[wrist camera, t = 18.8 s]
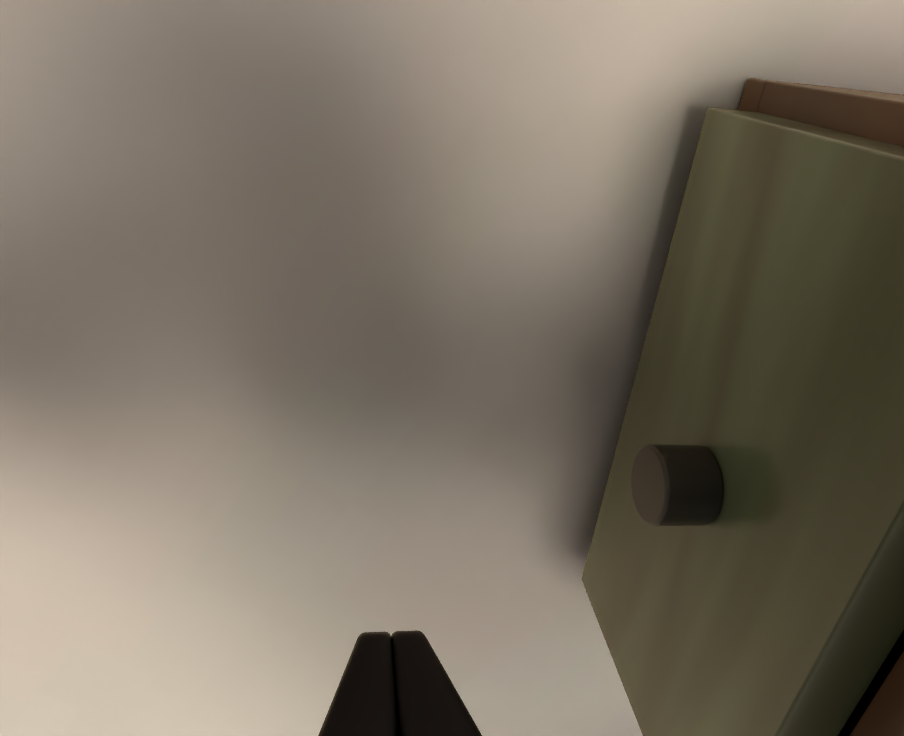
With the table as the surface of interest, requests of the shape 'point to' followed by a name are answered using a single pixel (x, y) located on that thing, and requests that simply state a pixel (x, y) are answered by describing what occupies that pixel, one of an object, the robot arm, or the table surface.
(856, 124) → the cabinet
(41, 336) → the table surface
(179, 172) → the table surface
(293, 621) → the table surface
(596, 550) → the drawer
